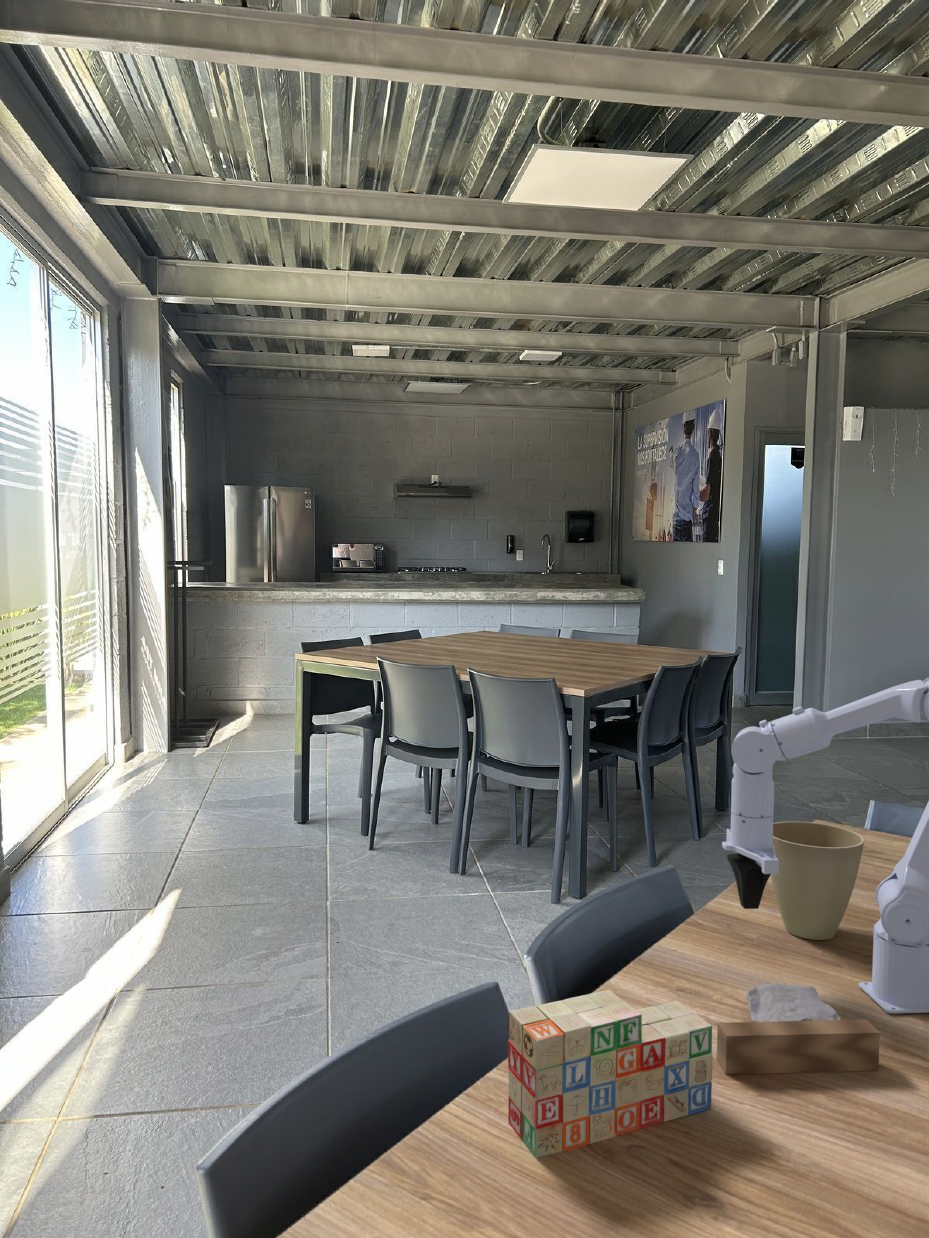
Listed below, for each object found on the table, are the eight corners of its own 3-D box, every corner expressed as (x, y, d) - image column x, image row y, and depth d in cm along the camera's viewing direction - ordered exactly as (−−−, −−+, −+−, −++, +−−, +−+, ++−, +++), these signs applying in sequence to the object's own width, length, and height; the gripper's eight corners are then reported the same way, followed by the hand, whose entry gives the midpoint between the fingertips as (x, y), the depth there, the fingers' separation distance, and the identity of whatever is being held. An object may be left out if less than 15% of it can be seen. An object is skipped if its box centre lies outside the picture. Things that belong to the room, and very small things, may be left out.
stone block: (771, 1068, 106) (853, 1051, 106) (764, 1029, 106) (845, 1013, 106) (739, 1021, 118) (813, 1006, 118) (733, 986, 118) (806, 971, 118)
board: (865, 1056, 105) (866, 1019, 105) (878, 1070, 102) (879, 1032, 102) (716, 1059, 104) (717, 1022, 104) (725, 1074, 101) (726, 1035, 101)
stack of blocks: (676, 1079, 100) (679, 973, 100) (712, 1110, 95) (715, 998, 94) (506, 1123, 92) (507, 1008, 91) (534, 1160, 86) (535, 1038, 86)
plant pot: (872, 954, 134) (876, 850, 133) (770, 946, 136) (772, 844, 135) (847, 916, 148) (850, 822, 147) (755, 910, 151) (757, 818, 150)
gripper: (707, 799, 132) (705, 888, 133) (743, 827, 118) (740, 927, 118) (753, 799, 132) (751, 888, 133) (795, 827, 118) (792, 927, 119)
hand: (749, 907), depth 126 cm, fingers closed
